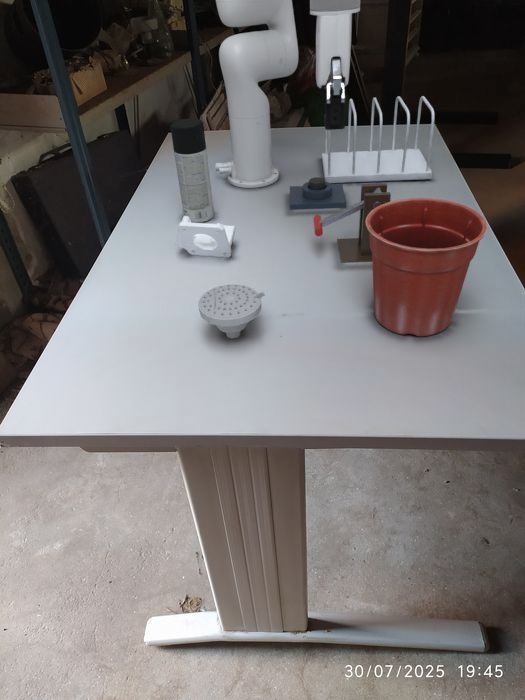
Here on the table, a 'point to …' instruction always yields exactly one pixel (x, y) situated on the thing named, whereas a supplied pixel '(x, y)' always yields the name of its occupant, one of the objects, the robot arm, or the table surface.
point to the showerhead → (230, 307)
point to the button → (317, 183)
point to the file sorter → (378, 154)
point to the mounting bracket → (205, 238)
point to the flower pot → (421, 261)
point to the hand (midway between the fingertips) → (333, 120)
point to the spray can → (192, 169)
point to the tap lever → (338, 215)
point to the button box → (317, 197)
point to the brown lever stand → (363, 226)
